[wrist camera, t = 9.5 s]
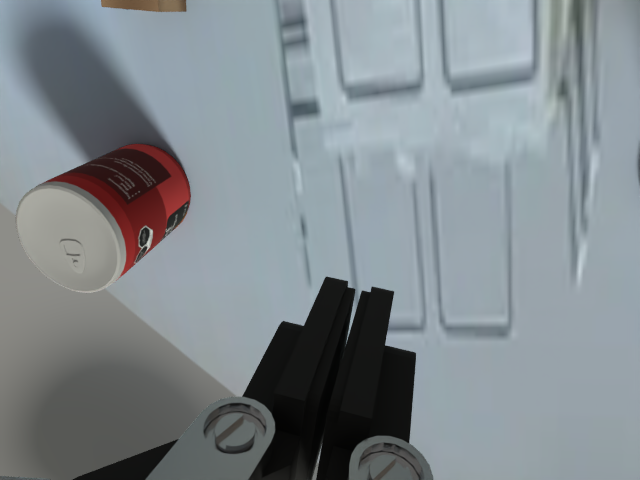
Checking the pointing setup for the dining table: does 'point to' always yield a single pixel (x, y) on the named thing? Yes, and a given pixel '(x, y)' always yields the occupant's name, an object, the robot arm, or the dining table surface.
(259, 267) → the dining table surface
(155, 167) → the canned food
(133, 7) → the t block
